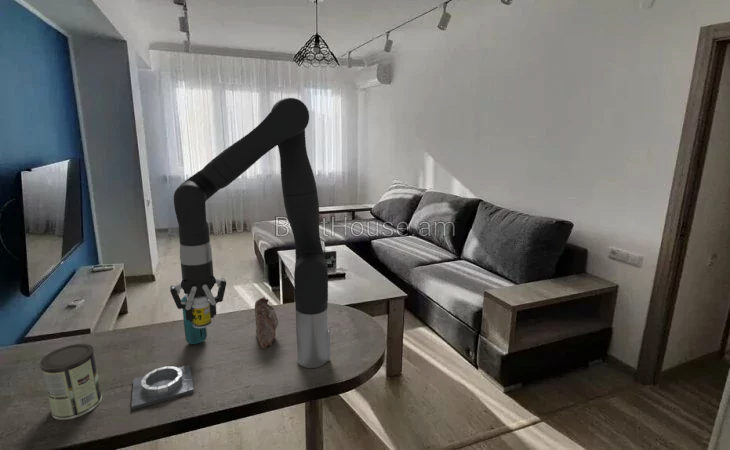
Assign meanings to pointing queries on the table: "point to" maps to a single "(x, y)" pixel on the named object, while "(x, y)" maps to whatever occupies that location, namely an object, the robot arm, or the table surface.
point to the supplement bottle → (201, 312)
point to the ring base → (161, 385)
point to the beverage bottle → (192, 329)
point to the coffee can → (71, 381)
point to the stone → (265, 322)
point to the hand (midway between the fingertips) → (201, 318)
